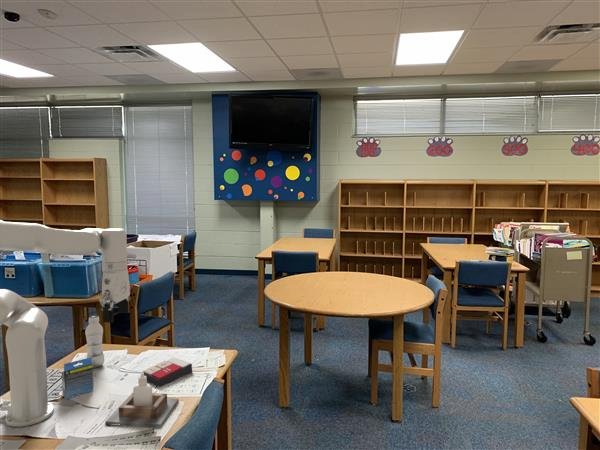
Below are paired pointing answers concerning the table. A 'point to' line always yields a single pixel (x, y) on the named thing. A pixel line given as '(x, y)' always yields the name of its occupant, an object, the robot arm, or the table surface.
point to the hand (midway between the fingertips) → (116, 317)
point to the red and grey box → (167, 371)
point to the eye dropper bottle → (142, 392)
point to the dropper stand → (144, 412)
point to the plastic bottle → (94, 341)
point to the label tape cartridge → (77, 378)
